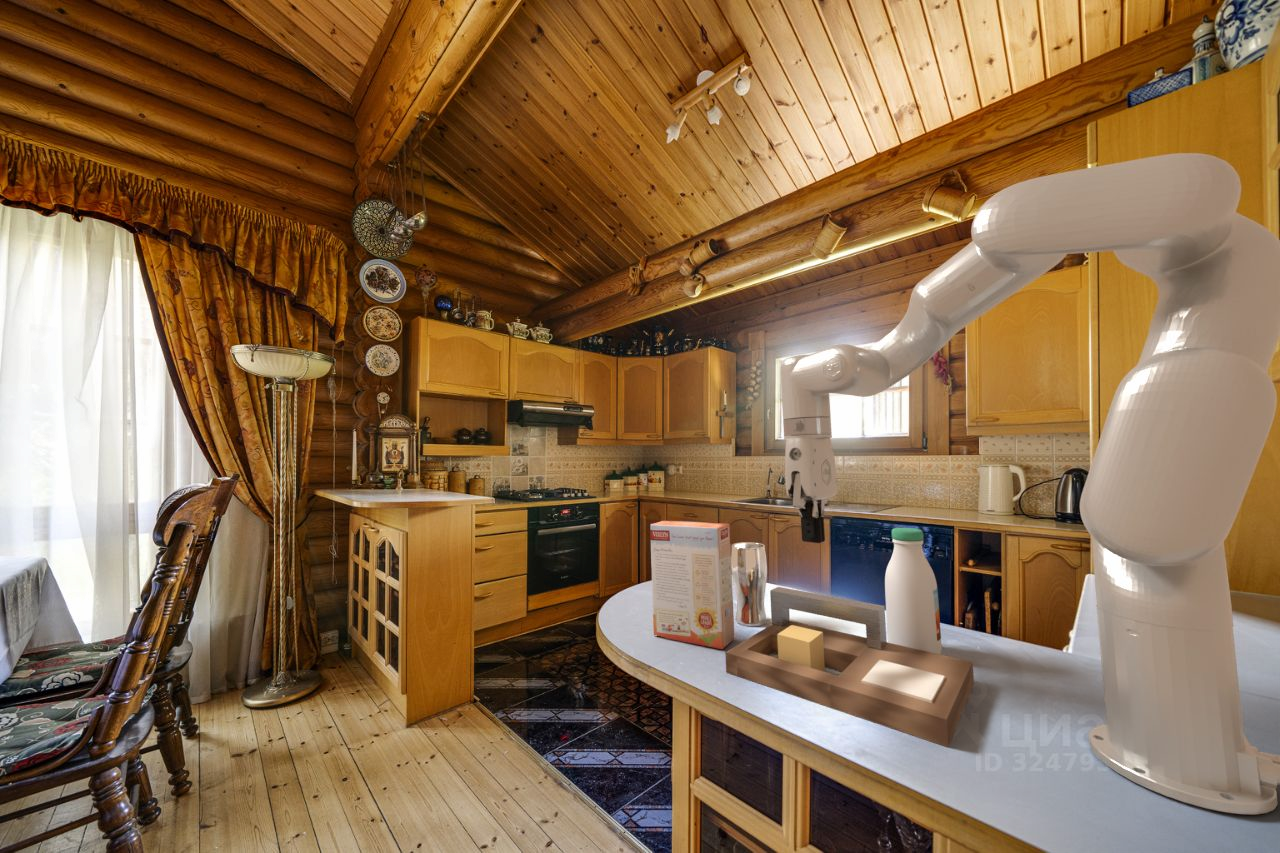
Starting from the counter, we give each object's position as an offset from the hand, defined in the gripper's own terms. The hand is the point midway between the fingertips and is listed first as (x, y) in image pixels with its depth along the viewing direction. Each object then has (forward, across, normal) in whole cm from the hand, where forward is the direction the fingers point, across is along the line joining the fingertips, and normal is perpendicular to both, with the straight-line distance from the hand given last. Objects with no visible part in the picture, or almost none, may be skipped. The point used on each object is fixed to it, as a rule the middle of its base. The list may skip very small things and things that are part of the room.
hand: (813, 541), depth 77 cm
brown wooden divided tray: (+19, -4, -5) cm, 20 cm away
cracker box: (+19, -6, +21) cm, 29 cm away
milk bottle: (+19, +13, -10) cm, 25 cm away
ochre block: (+19, -6, 0) cm, 20 cm away
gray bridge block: (+16, +3, 0) cm, 16 cm away
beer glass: (+19, +8, +18) cm, 27 cm away
